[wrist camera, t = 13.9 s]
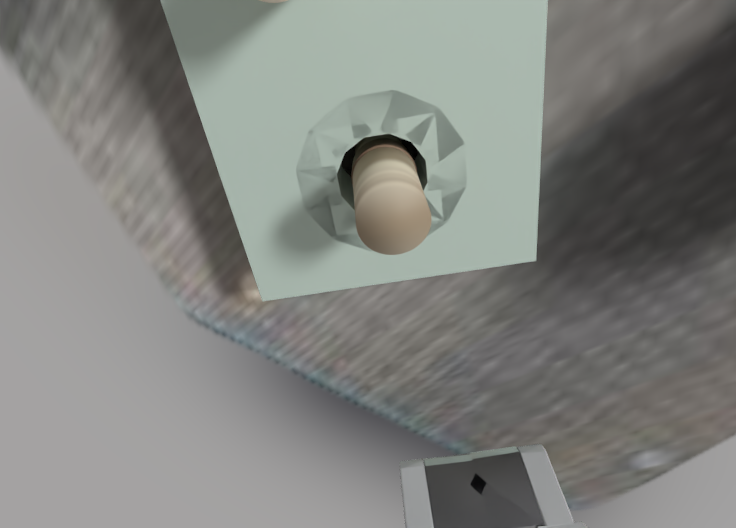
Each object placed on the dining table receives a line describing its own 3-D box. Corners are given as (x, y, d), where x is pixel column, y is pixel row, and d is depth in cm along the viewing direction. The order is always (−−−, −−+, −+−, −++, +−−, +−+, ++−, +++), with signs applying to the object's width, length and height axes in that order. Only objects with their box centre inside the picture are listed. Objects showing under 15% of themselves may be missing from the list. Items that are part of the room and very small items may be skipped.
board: (133, -177, 20) (11, -244, 13) (523, -253, 20) (636, -373, 12) (270, 264, 32) (249, 362, 25) (515, 226, 32) (569, 316, 24)
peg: (344, 125, 28) (347, 194, 20) (402, 113, 27) (428, 179, 20) (355, 179, 29) (362, 262, 22) (410, 169, 29) (436, 248, 22)
